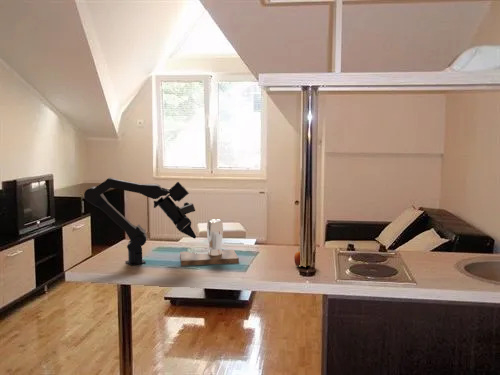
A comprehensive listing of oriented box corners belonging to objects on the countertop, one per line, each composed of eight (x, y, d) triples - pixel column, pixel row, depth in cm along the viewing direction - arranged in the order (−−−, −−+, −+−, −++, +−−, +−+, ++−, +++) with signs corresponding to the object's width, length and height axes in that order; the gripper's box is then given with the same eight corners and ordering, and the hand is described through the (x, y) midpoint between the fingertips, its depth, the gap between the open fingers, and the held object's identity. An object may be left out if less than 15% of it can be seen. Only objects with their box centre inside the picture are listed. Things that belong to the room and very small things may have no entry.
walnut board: (181, 265, 197) (181, 260, 197) (180, 256, 212) (180, 251, 212) (238, 262, 202) (238, 258, 201) (233, 253, 216) (233, 249, 216)
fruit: (290, 266, 192) (293, 247, 195) (294, 271, 198) (297, 253, 201) (309, 268, 189) (312, 249, 192) (313, 273, 195) (316, 255, 198)
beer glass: (224, 256, 205) (224, 221, 203) (208, 257, 203) (207, 222, 201) (221, 252, 211) (221, 218, 210) (206, 253, 210) (205, 219, 208)
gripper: (187, 198, 193) (212, 226, 196) (182, 194, 211) (205, 221, 214) (166, 216, 192) (191, 244, 195) (163, 211, 210) (186, 237, 213)
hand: (194, 236), depth 204 cm, fingers open, 9 cm apart
